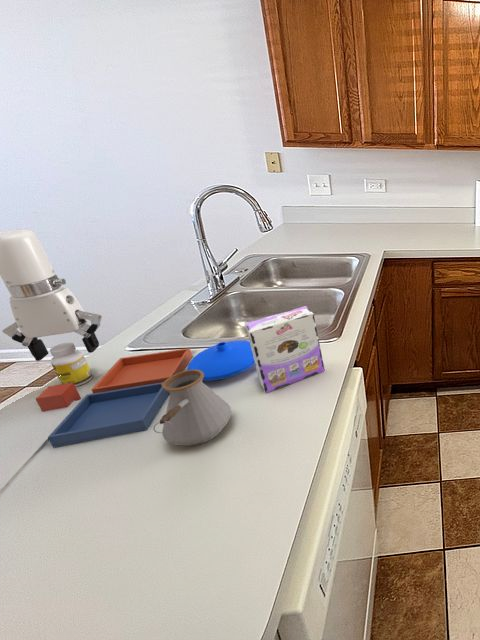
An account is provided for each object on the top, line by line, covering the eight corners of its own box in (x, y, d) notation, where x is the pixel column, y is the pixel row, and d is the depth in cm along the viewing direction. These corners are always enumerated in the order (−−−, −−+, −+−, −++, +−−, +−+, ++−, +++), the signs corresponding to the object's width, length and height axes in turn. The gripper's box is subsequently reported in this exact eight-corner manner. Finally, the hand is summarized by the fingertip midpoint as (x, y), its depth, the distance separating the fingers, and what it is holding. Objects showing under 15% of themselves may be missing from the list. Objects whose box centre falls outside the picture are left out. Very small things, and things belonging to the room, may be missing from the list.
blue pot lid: (266, 346, 110) (260, 324, 107) (259, 379, 96) (253, 354, 93) (199, 358, 104) (192, 335, 102) (182, 394, 91) (173, 368, 88)
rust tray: (95, 399, 89) (91, 389, 88) (123, 366, 101) (120, 358, 100) (174, 385, 94) (170, 376, 93) (192, 356, 105) (189, 347, 104)
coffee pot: (173, 421, 83) (150, 361, 77) (236, 406, 87) (219, 347, 81) (145, 506, 65) (112, 435, 59) (226, 480, 69) (203, 412, 64)
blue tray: (53, 447, 76) (47, 437, 75) (91, 404, 88) (86, 394, 87) (147, 429, 80) (142, 419, 79) (171, 390, 92) (168, 381, 91)
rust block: (43, 415, 84) (35, 398, 83) (56, 402, 88) (48, 386, 87) (69, 411, 86) (61, 394, 84) (81, 398, 90) (73, 382, 88)
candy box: (317, 361, 103) (306, 304, 97) (325, 371, 99) (314, 313, 93) (259, 382, 95) (243, 321, 89) (265, 394, 91) (249, 331, 84)
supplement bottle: (56, 386, 93) (38, 351, 90) (82, 373, 98) (66, 339, 94) (73, 390, 92) (56, 354, 88) (99, 376, 97) (83, 342, 93)
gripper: (93, 275, 91) (121, 338, 98) (-4, 286, 87) (33, 352, 93) (74, 287, 85) (105, 355, 92) (-32, 300, 80) (9, 370, 87)
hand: (68, 353), depth 93 cm, fingers open, 9 cm apart
